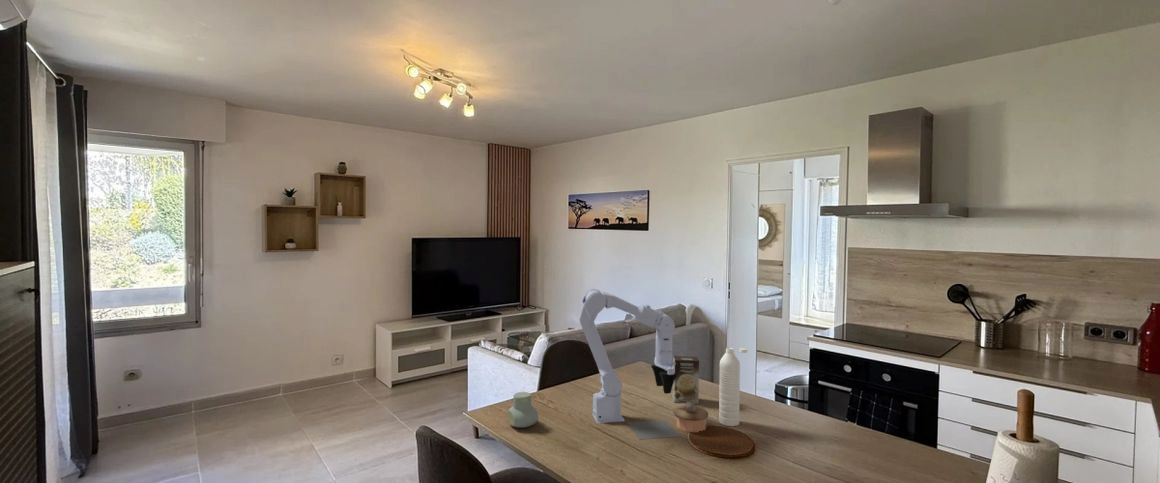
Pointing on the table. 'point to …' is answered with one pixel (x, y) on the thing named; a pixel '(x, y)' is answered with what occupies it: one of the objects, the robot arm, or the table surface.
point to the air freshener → (522, 411)
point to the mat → (653, 429)
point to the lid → (690, 412)
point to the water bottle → (729, 388)
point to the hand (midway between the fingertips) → (663, 389)
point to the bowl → (691, 425)
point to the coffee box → (686, 379)
